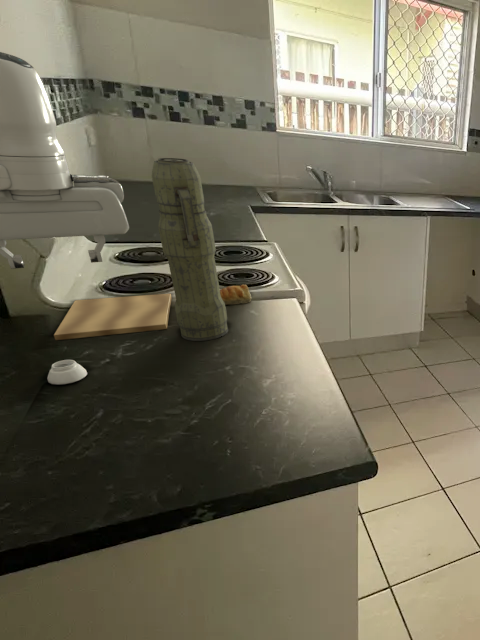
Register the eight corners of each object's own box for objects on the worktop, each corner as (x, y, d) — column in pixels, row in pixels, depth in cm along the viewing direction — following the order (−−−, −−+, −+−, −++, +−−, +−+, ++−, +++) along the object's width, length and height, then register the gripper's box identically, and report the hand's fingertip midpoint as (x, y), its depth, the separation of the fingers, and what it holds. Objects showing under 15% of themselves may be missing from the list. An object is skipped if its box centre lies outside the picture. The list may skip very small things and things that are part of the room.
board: (55, 340, 92) (53, 334, 92) (76, 305, 108) (75, 300, 107) (166, 329, 101) (165, 324, 101) (171, 297, 117) (170, 293, 116)
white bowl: (94, 376, 82) (76, 369, 84) (89, 361, 81) (71, 354, 83) (60, 389, 78) (41, 381, 80) (54, 373, 77) (36, 365, 78)
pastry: (211, 308, 113) (208, 293, 111) (205, 300, 117) (202, 285, 116) (254, 302, 119) (252, 288, 117) (246, 294, 123) (244, 280, 122)
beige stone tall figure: (217, 319, 108) (189, 156, 94) (238, 336, 101) (211, 163, 87) (172, 327, 102) (135, 155, 88) (190, 347, 95) (153, 163, 81)
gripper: (118, 172, 79) (137, 253, 85) (-66, 170, 67) (-30, 265, 72) (121, 178, 75) (140, 263, 80) (-76, 176, 62) (-36, 277, 68)
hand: (58, 264), depth 76 cm, fingers open, 8 cm apart
